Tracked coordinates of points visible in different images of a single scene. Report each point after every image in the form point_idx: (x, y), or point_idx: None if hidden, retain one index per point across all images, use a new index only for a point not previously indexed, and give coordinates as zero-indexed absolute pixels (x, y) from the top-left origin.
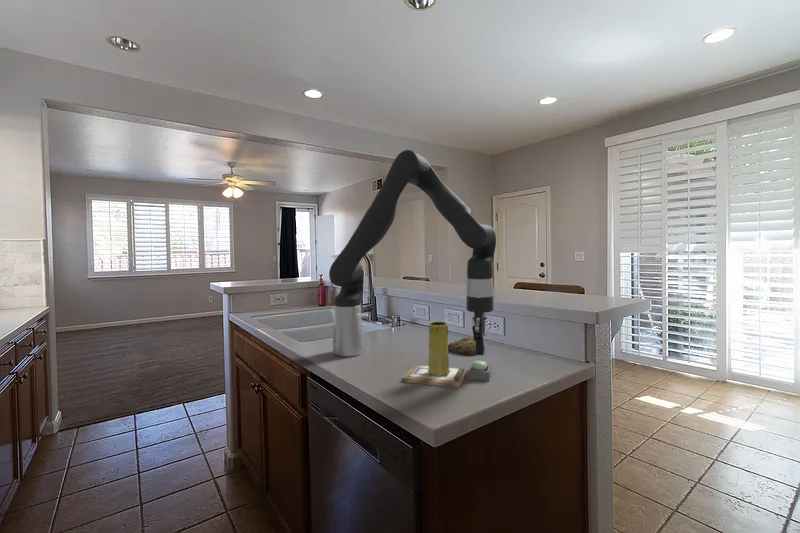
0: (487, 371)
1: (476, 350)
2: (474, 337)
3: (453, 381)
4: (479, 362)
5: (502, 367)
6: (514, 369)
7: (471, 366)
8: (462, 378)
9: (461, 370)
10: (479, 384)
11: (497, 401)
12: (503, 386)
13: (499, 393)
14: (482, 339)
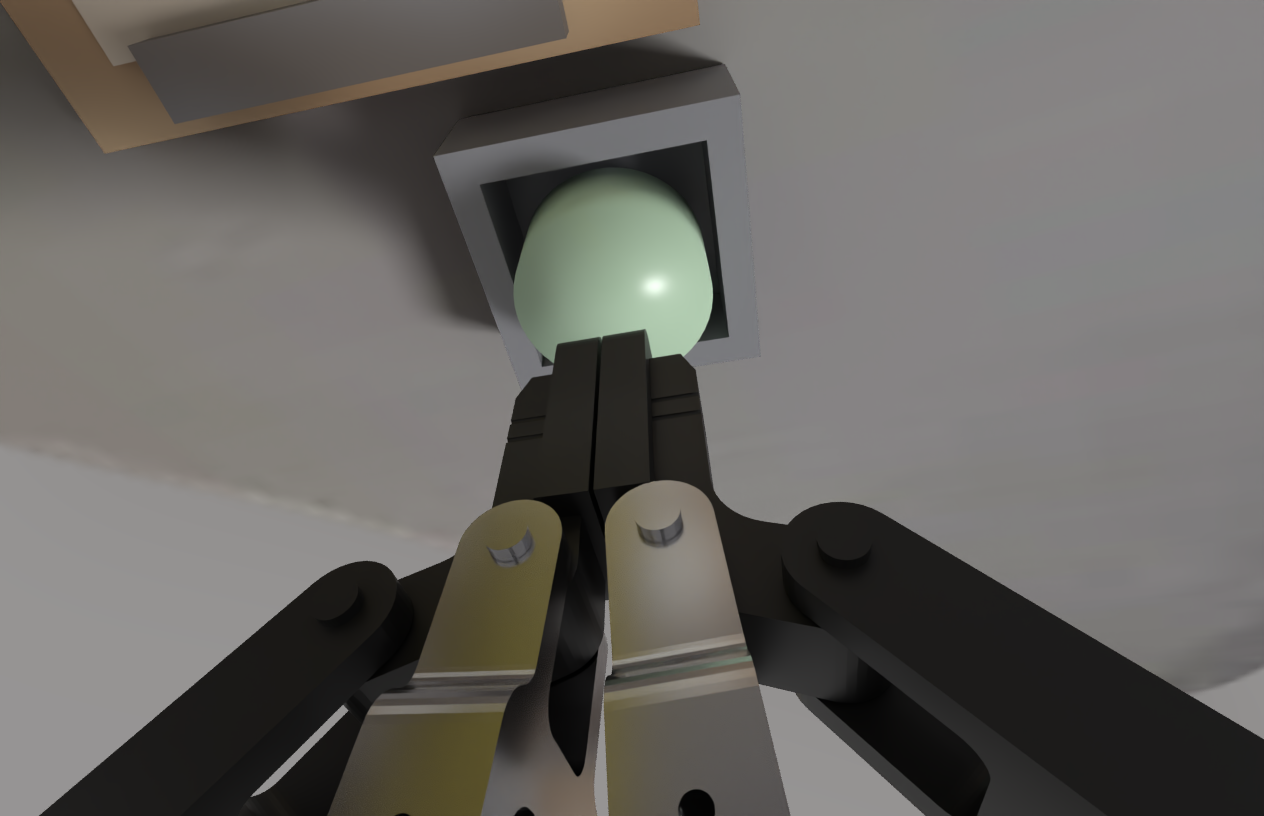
0: (540, 372)
1: (553, 388)
2: (199, 700)
3: (109, 47)
4: (627, 295)
5: (1014, 338)
6: (966, 434)
7: (623, 149)
8: (326, 104)
9: (458, 30)
10: (396, 287)
11: (187, 480)
12: (489, 452)
13: (331, 460)
14: (348, 738)
